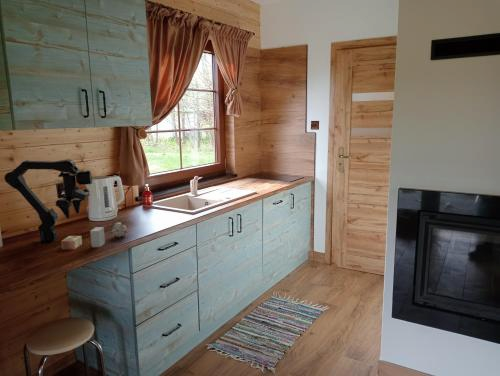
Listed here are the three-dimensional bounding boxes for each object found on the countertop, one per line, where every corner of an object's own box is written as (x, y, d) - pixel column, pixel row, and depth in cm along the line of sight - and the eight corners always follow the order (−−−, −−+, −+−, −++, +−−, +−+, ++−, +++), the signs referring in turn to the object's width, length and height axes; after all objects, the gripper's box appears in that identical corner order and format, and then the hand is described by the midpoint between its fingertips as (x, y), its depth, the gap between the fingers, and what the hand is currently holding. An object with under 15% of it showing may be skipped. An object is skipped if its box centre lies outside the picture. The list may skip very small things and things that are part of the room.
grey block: (100, 247, 194) (98, 231, 193) (91, 247, 195) (90, 231, 193) (105, 242, 200) (103, 227, 199) (97, 242, 201) (95, 227, 199)
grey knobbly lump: (119, 242, 211) (119, 224, 216) (131, 238, 208) (132, 220, 212) (105, 239, 204) (106, 220, 208) (118, 234, 201) (119, 215, 205)
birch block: (61, 241, 192) (69, 235, 199) (62, 249, 192) (70, 243, 200) (73, 241, 191) (81, 235, 199) (74, 249, 192) (82, 243, 200)
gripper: (76, 189, 192) (79, 221, 195) (94, 181, 210) (97, 211, 213) (53, 189, 193) (56, 221, 196) (73, 181, 211) (76, 211, 214)
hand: (73, 215), depth 205 cm, fingers open, 9 cm apart
